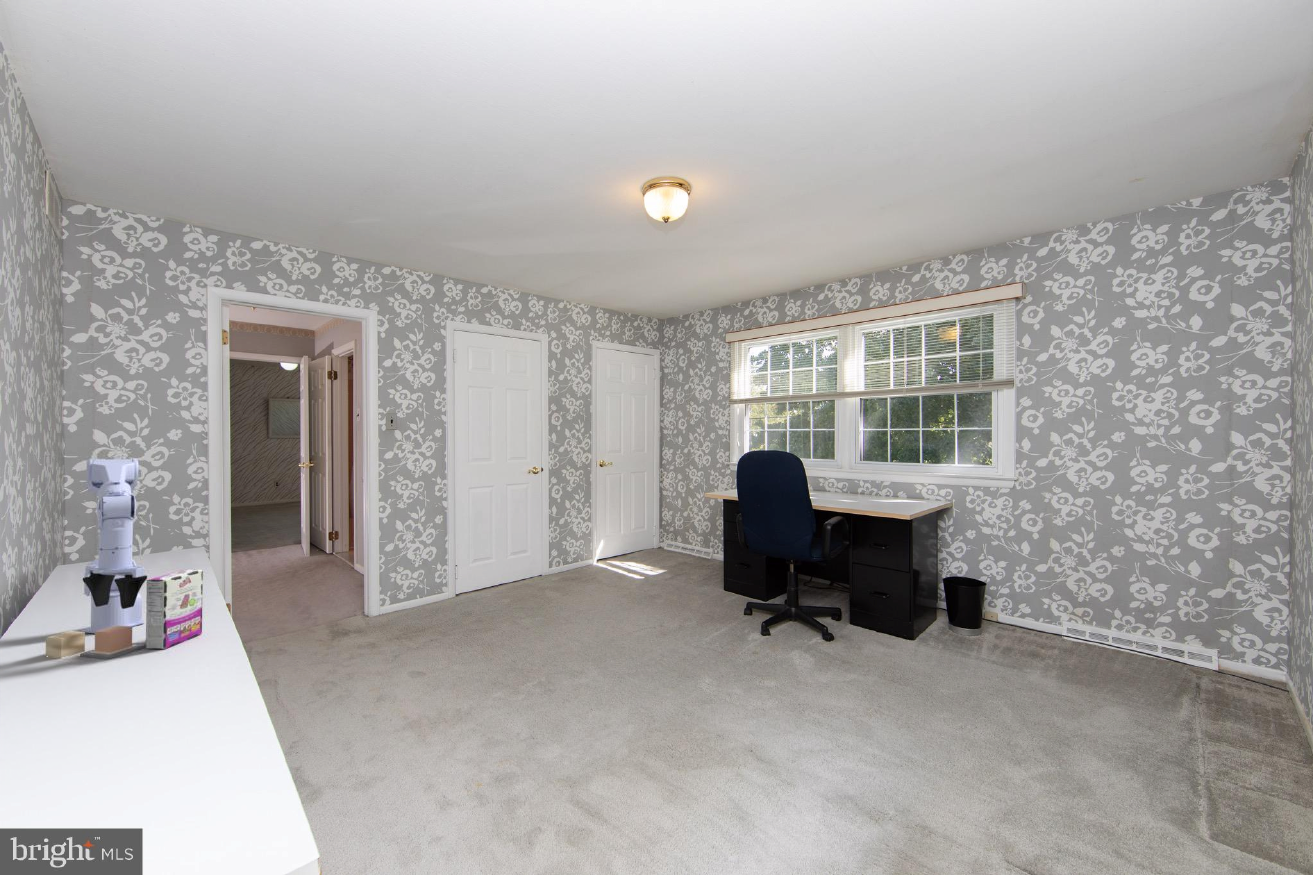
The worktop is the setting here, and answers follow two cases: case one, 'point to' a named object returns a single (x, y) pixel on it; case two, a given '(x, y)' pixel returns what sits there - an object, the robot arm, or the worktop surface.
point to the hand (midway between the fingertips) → (114, 606)
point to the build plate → (113, 654)
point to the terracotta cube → (113, 638)
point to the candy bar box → (174, 608)
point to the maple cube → (65, 644)
